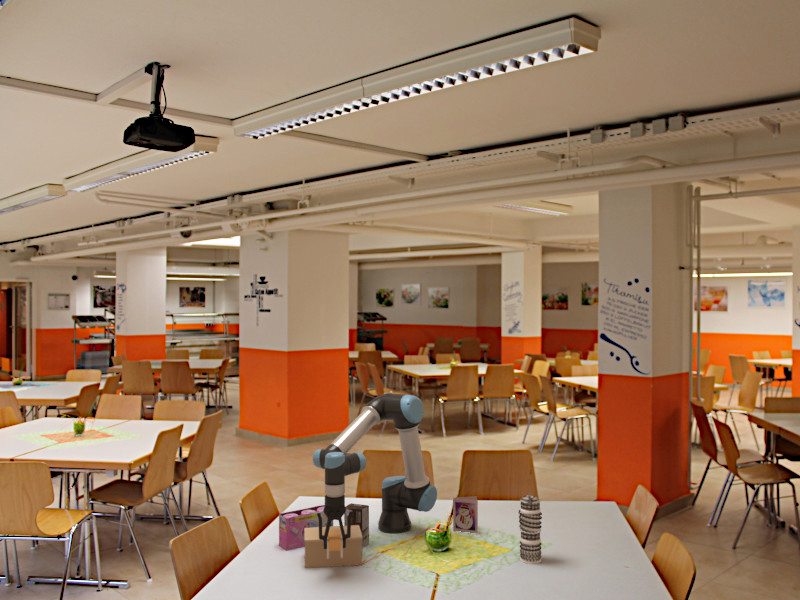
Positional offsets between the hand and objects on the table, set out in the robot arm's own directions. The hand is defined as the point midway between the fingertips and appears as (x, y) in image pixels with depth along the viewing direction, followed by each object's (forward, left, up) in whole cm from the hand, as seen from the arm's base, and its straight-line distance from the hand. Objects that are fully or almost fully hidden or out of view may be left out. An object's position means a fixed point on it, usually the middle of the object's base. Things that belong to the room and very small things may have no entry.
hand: (334, 556), depth 239 cm
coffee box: (-11, -31, -7) cm, 34 cm away
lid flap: (0, -10, +3) cm, 10 cm away
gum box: (+10, -37, -7) cm, 39 cm away
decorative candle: (-78, -2, -7) cm, 78 cm away
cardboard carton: (0, -15, -7) cm, 17 cm away
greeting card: (-62, -40, -7) cm, 74 cm away
